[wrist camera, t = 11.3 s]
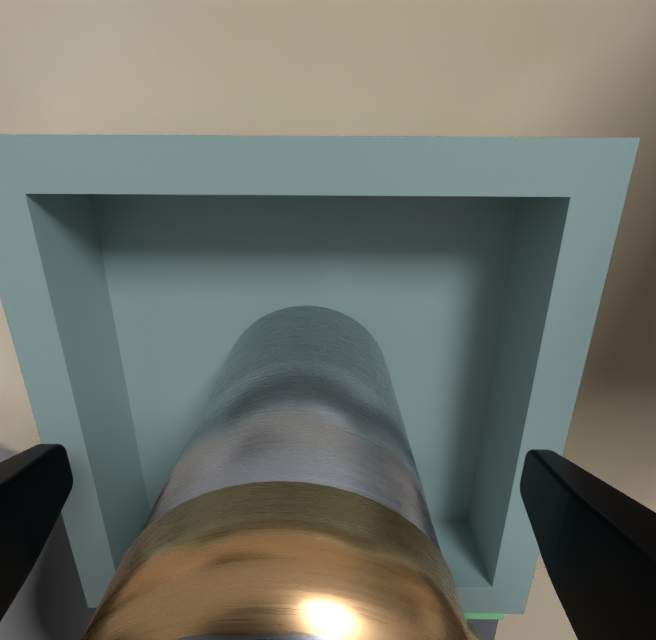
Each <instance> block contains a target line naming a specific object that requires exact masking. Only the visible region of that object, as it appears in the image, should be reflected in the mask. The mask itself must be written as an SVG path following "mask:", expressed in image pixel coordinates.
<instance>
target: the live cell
mask: <svg viewBox="0 0 656 640" xmlns="http://www.w3.org/2000/svg"><path fill="white" fill-rule="evenodd" d="M81 640H471V636H470V633H469V630H468V626H467V623H466V620H465V617H464V613H463V610H462V607H461V603H460V600H459V597H458V593H457V590H456V587H455V584H454V580H453V577H452V574H451V571H450V569H449V567H448V565H447V563H446V562H445V560H444V558H443V556H442V553H441V549H440V546H439V542H438V539H437V536H436V532H435V529H434V525H433V522H432V518H431V515H430V512H429V508H428V505H427V501H426V498H425V494H424V491H423V488H422V484H421V481H420V477H419V474H418V470H417V467H416V464H415V460H414V457H413V453H412V450H411V446H410V443H409V440H408V436H407V433H406V429H405V426H404V422H403V419H402V416H401V412H400V409H399V405H398V402H397V398H396V395H395V392H394V388H393V385H392V381H391V378H390V374H389V371H388V368H387V364H386V361H385V358H384V355H383V352H382V350H381V348H380V346H379V344H378V343H377V342H376V340H375V339H374V337H373V336H372V335H371V334H370V333H369V332H368V330H367V329H366V328H364V327H363V326H362V325H361V324H360V323H358V322H357V321H355V320H354V319H352V318H351V317H349V316H347V315H345V314H343V313H341V312H338V311H335V310H332V309H329V308H324V307H319V306H293V307H288V308H283V309H280V310H277V311H274V312H272V313H270V314H268V315H265V316H263V317H262V318H260V319H259V320H257V321H256V322H254V323H253V324H252V325H251V326H250V327H249V328H247V329H246V331H245V332H244V333H243V334H242V335H241V336H240V338H239V339H238V341H237V342H236V344H235V346H234V348H233V349H232V351H231V353H230V355H229V357H228V359H227V361H226V363H225V365H224V367H223V369H222V371H221V373H220V375H219V377H218V379H217V381H216V383H215V385H214V387H213V389H212V391H211V393H210V395H209V397H208V399H207V401H206V403H205V405H204V407H203V409H202V411H201V413H200V415H199V417H198V419H197V421H196V423H195V425H194V427H193V429H192V431H191V433H190V435H189V437H188V439H187V441H186V443H185V445H184V447H183V449H182V451H181V453H180V455H179V457H178V459H177V461H176V463H175V465H174V467H173V469H172V471H171V473H170V475H169V477H168V479H167V481H166V483H165V485H164V486H163V488H162V490H161V492H160V494H159V496H158V498H157V500H156V502H155V504H154V506H153V508H152V510H151V512H150V514H149V516H148V518H147V520H146V522H145V524H144V526H143V528H142V530H141V532H140V534H139V536H138V537H137V538H136V539H135V540H134V541H133V543H132V544H131V546H130V547H129V549H128V550H127V552H126V553H125V555H124V557H123V559H122V561H121V563H120V564H119V566H118V568H117V570H116V572H115V574H114V576H113V578H112V580H111V582H110V584H109V586H108V588H107V590H106V592H105V594H104V596H103V597H102V599H101V601H100V603H99V605H98V607H97V609H96V611H95V613H94V615H93V617H92V619H91V621H90V623H89V625H88V627H87V629H86V630H85V632H84V634H83V636H82V638H81Z"/></svg>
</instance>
